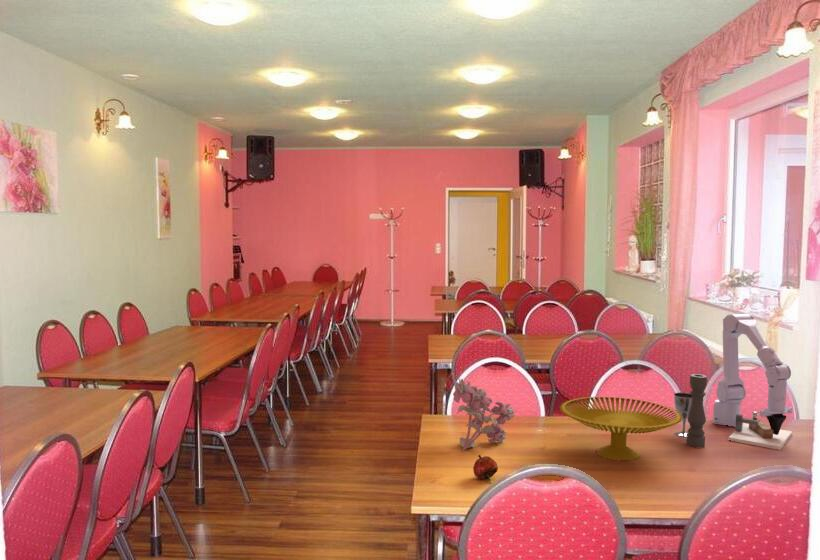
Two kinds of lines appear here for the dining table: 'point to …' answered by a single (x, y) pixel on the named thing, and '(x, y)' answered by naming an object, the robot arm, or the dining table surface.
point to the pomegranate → (485, 467)
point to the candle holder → (697, 411)
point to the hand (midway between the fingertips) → (775, 434)
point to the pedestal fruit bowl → (620, 422)
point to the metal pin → (755, 415)
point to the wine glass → (682, 409)
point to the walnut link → (762, 429)
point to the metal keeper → (741, 420)
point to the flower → (481, 413)
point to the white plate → (760, 438)
